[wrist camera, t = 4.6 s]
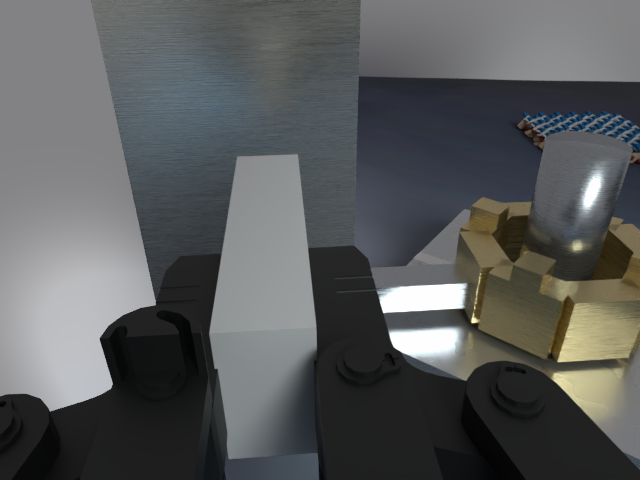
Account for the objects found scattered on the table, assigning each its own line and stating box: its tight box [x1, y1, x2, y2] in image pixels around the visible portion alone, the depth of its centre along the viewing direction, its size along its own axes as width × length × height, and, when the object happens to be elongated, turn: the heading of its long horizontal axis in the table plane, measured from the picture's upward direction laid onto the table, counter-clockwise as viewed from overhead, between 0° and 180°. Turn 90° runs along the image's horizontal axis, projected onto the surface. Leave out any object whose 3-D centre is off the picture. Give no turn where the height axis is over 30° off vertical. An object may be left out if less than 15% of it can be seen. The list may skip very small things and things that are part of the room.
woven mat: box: [517, 111, 640, 163], centre depth 49 cm, size 10×11×2 cm
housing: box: [383, 131, 640, 470], centre depth 24 cm, size 14×14×10 cm
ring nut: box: [91, 0, 640, 362], centre depth 21 cm, size 22×8×15 cm, turn 94°
